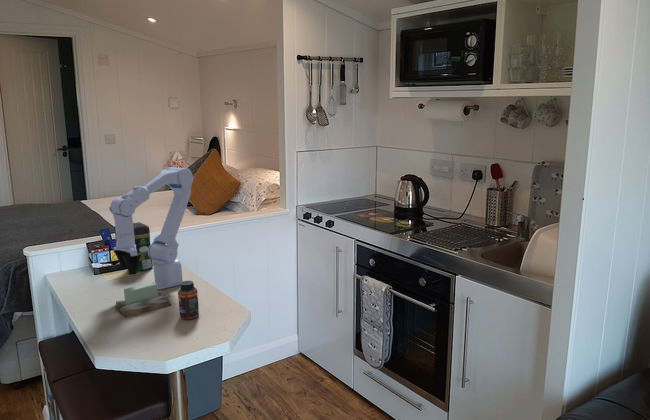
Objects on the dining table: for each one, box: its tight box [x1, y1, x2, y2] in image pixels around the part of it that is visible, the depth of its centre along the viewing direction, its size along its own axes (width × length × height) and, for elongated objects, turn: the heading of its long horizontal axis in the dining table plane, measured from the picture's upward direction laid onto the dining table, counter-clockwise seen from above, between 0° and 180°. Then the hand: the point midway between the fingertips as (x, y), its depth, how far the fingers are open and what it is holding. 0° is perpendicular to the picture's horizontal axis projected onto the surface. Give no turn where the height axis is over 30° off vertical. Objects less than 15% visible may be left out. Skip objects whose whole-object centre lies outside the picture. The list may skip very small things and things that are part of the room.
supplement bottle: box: [177, 280, 200, 321], centre depth 164 cm, size 6×6×11 cm
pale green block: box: [123, 281, 159, 306], centre depth 173 cm, size 10×3×6 cm, turn 129°
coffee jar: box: [133, 221, 154, 272], centre depth 212 cm, size 10×8×19 cm
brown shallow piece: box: [114, 289, 172, 318], centre depth 174 cm, size 15×10×3 cm, turn 129°
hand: (128, 271), depth 180 cm, fingers open, 7 cm apart
